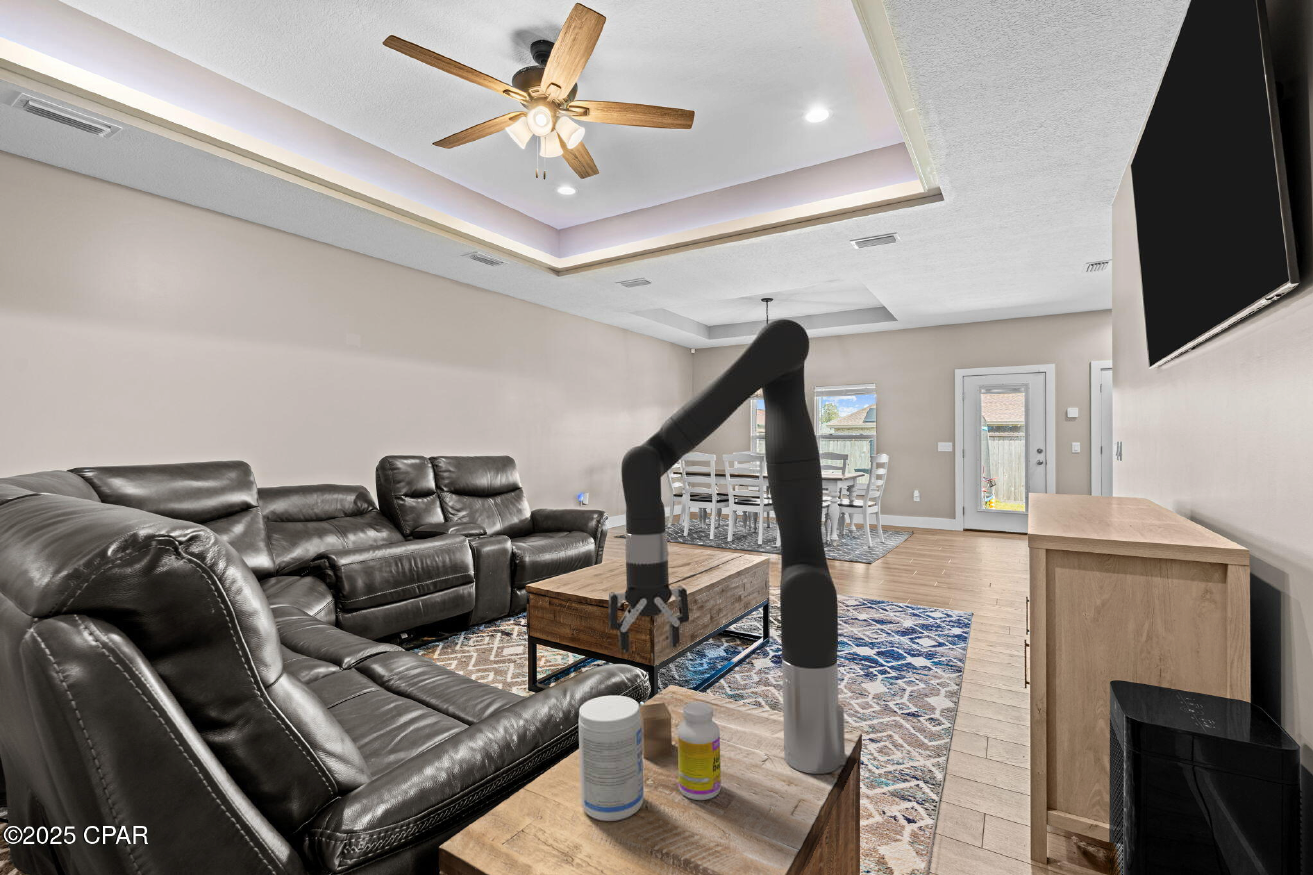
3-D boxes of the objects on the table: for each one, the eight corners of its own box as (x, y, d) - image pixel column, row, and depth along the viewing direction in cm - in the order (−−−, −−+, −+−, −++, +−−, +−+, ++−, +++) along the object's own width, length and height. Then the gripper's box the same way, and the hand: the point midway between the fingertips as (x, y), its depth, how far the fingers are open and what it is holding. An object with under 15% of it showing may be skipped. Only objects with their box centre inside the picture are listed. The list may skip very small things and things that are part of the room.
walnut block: (665, 740, 109) (664, 702, 109) (672, 754, 104) (671, 714, 105) (638, 744, 108) (637, 706, 108) (644, 758, 103) (643, 718, 103)
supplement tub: (654, 811, 88) (652, 712, 89) (595, 832, 84) (593, 728, 84) (626, 779, 97) (624, 689, 97) (571, 797, 92) (569, 702, 93)
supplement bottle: (719, 804, 90) (716, 718, 90) (675, 800, 91) (673, 715, 91) (723, 779, 96) (721, 700, 96) (682, 775, 98) (680, 697, 98)
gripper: (680, 551, 111) (682, 638, 111) (604, 556, 108) (607, 646, 108) (691, 558, 104) (694, 651, 103) (610, 564, 100) (613, 660, 100)
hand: (649, 648), depth 106 cm, fingers open, 8 cm apart
